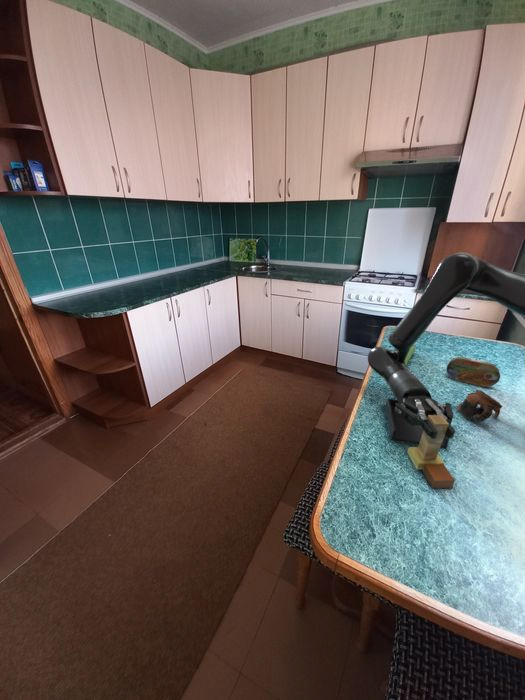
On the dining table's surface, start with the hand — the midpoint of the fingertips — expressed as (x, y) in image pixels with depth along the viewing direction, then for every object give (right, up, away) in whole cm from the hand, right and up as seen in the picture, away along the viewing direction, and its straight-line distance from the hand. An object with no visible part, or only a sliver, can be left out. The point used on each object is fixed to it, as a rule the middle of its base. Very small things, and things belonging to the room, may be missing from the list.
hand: (443, 435), depth 62 cm
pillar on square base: (0, -8, +8) cm, 11 cm away
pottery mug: (+24, -1, +23) cm, 34 cm away
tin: (+33, +7, +39) cm, 52 cm away
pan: (+5, -1, +24) cm, 25 cm away
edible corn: (+18, +14, +54) cm, 59 cm away
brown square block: (+1, -11, +4) cm, 12 cm away
